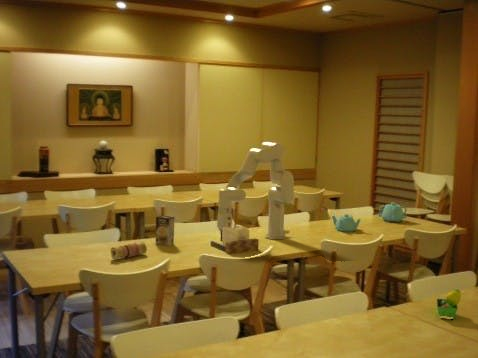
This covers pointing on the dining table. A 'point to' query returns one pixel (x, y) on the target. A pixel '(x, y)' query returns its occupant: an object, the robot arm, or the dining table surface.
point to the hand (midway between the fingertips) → (223, 241)
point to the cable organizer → (234, 234)
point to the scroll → (128, 250)
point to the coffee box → (165, 230)
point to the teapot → (345, 223)
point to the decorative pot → (392, 212)
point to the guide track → (238, 245)
